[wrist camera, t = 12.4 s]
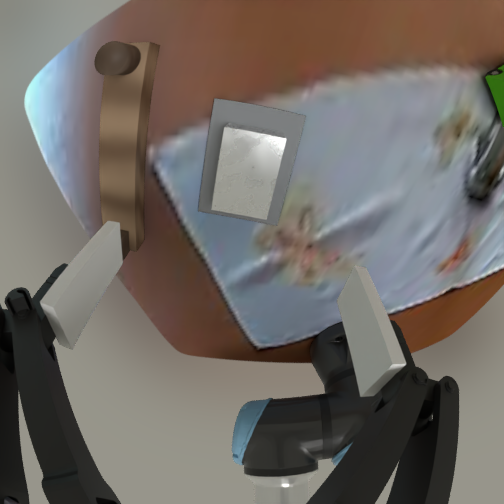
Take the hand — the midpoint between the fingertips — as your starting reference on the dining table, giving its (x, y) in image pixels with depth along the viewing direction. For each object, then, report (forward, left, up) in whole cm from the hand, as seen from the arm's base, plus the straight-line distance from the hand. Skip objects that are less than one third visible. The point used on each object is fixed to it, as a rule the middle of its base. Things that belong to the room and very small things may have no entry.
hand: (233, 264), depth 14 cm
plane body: (0, +15, -19) cm, 24 cm away
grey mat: (0, 0, -19) cm, 19 cm away
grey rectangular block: (0, 0, -19) cm, 19 cm away
